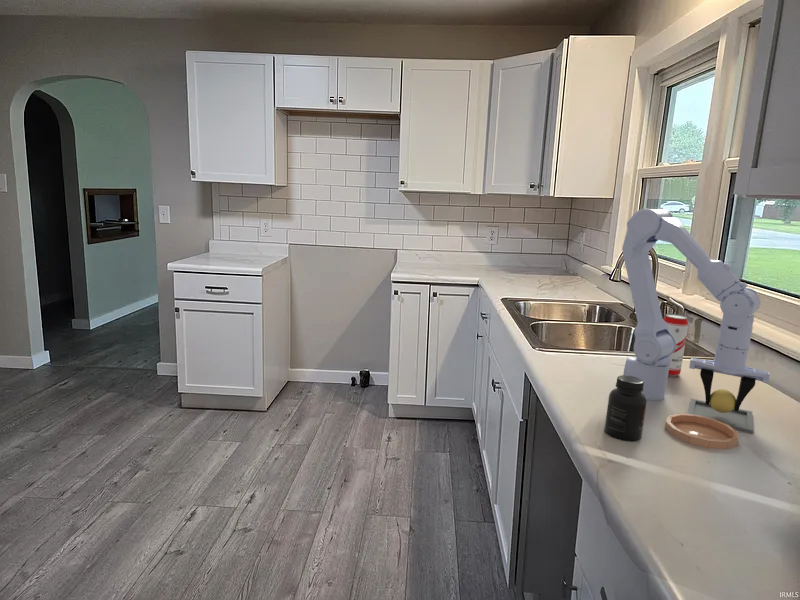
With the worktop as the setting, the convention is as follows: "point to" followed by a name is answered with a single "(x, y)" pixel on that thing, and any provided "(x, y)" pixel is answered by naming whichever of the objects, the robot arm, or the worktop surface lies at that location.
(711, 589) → the worktop surface
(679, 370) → the beer can
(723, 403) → the ball
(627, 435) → the supplement bottle
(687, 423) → the bowl
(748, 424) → the tray
